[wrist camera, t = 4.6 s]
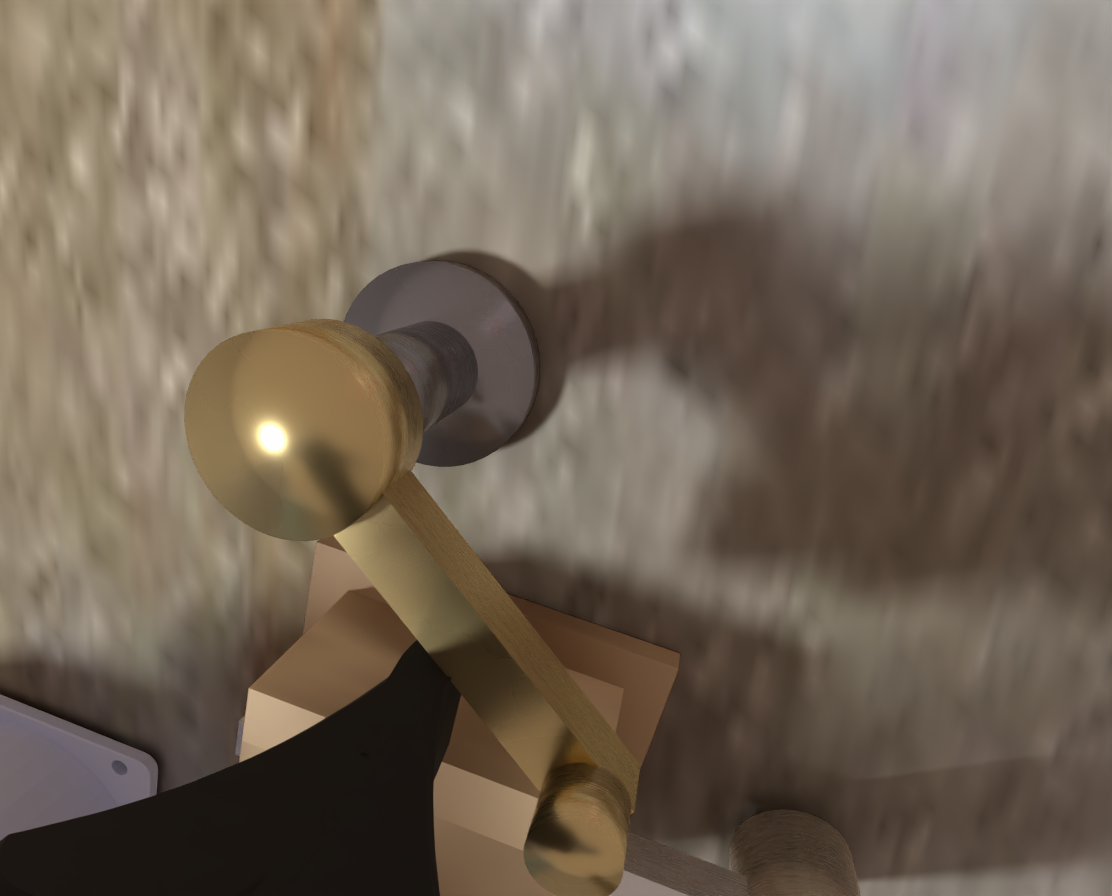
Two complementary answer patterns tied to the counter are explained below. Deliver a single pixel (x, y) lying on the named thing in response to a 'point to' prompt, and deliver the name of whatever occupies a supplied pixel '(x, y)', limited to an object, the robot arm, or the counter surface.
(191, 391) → the lever
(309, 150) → the counter surface
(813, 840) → the hook rod
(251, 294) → the counter surface
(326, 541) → the block
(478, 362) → the lever post
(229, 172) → the counter surface
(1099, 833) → the counter surface
